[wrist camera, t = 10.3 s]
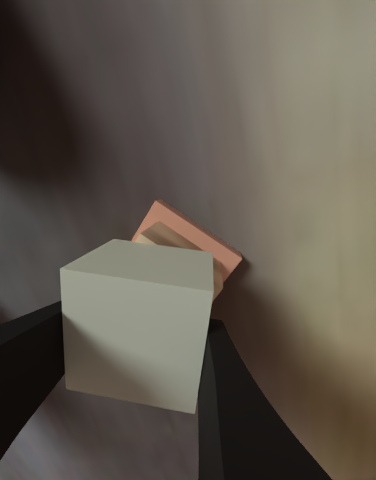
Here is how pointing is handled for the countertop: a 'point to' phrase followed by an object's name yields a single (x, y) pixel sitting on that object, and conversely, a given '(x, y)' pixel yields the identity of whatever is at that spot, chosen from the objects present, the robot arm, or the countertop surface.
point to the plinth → (192, 235)
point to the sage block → (137, 322)
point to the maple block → (169, 237)
